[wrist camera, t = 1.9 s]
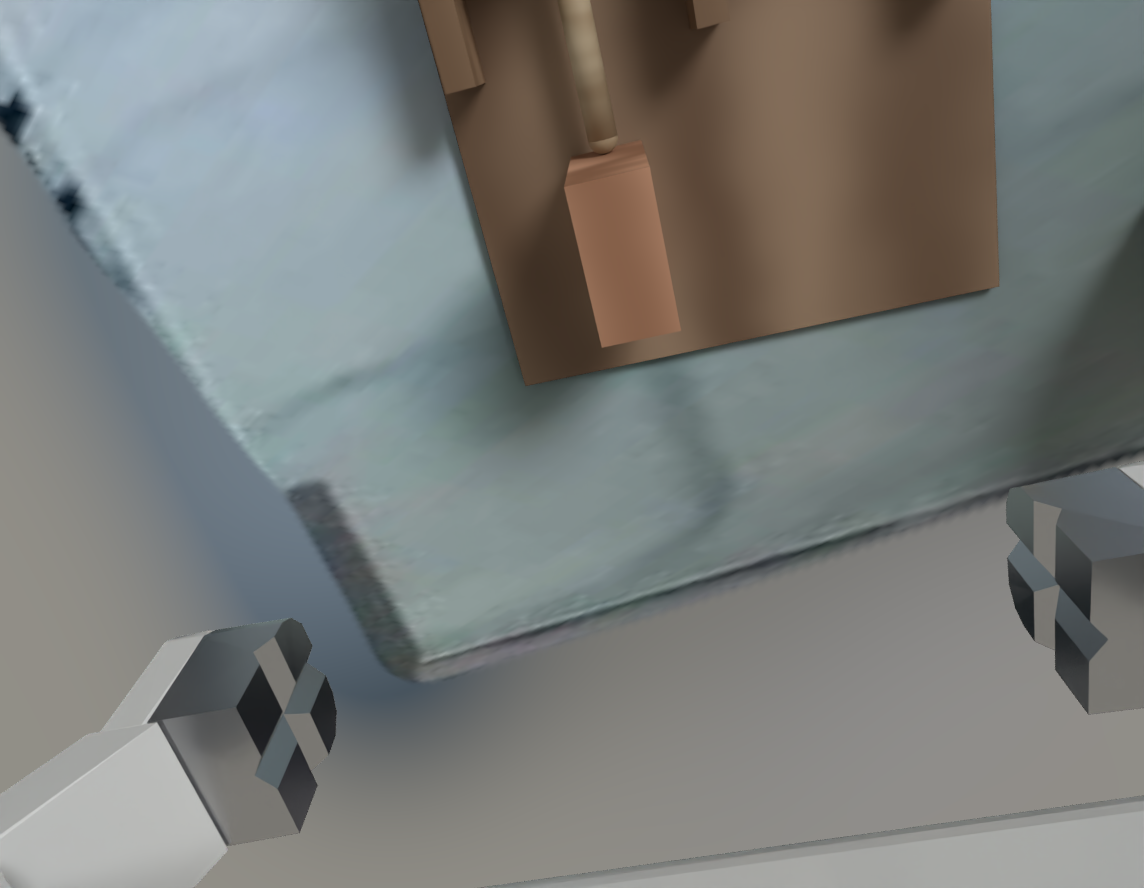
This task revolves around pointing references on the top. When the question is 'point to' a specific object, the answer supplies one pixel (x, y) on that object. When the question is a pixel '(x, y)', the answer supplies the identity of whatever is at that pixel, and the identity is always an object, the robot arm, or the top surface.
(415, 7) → the top surface
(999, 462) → the top surface
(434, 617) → the top surface
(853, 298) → the walnut rack
